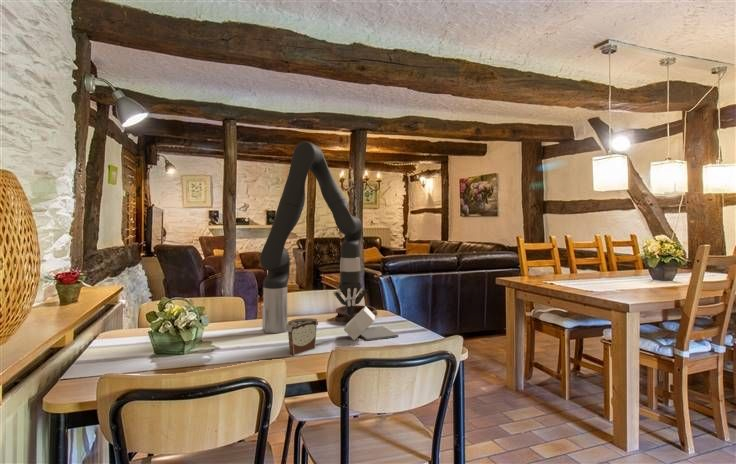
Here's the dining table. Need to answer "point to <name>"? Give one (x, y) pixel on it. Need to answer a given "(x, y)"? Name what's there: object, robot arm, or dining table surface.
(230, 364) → the dining table surface
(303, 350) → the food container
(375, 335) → the slate board
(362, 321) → the small box
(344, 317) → the dish
